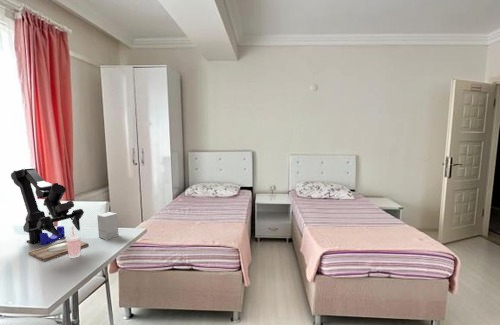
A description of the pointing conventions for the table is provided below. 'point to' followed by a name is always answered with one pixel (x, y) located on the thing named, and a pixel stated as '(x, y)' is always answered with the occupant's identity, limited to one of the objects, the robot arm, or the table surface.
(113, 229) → the supplement box
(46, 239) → the cable clip
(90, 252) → the table surface
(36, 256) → the board
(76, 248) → the beverage cup
